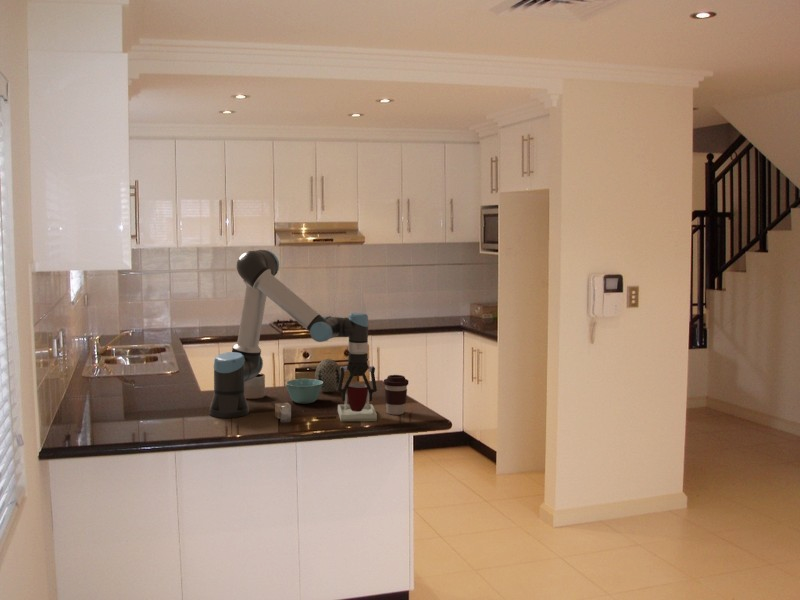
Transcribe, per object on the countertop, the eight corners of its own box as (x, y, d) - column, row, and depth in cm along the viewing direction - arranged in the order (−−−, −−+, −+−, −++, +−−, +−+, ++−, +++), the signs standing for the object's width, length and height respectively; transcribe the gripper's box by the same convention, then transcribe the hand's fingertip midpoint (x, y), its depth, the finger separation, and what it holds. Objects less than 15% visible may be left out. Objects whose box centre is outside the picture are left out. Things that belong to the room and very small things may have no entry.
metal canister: (280, 422, 312) (280, 407, 311) (280, 419, 316) (280, 404, 315) (291, 422, 312) (291, 407, 312) (290, 419, 316) (291, 404, 316)
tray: (340, 421, 316) (340, 415, 315) (337, 410, 332) (337, 404, 332) (376, 421, 318) (377, 414, 317) (372, 410, 334) (372, 404, 334)
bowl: (279, 403, 342) (279, 384, 342) (294, 395, 357) (295, 377, 356) (313, 407, 338) (314, 387, 337) (328, 399, 353) (328, 380, 352)
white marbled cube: (278, 418, 317) (278, 406, 317) (275, 415, 322) (275, 403, 321) (290, 417, 319) (291, 405, 319) (287, 414, 324) (287, 402, 323)
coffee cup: (379, 410, 334) (380, 374, 332) (402, 409, 338) (403, 373, 336) (388, 416, 325) (388, 379, 323) (411, 415, 328) (412, 378, 327)
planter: (235, 398, 349) (235, 376, 348) (245, 393, 360) (245, 371, 359) (258, 400, 347) (258, 378, 346) (268, 395, 357) (269, 373, 356)
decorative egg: (330, 396, 358) (331, 362, 356) (309, 392, 364) (309, 359, 362) (346, 391, 368) (346, 358, 366) (325, 388, 374) (325, 355, 372)
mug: (347, 406, 330) (348, 381, 329) (367, 407, 330) (368, 382, 329) (345, 412, 319) (346, 387, 318) (366, 413, 319) (367, 388, 318)
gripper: (332, 354, 317) (331, 411, 319) (385, 354, 320) (384, 411, 323) (330, 350, 324) (329, 407, 327) (383, 350, 327) (381, 406, 330)
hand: (356, 409), depth 325 cm, fingers open, 8 cm apart
